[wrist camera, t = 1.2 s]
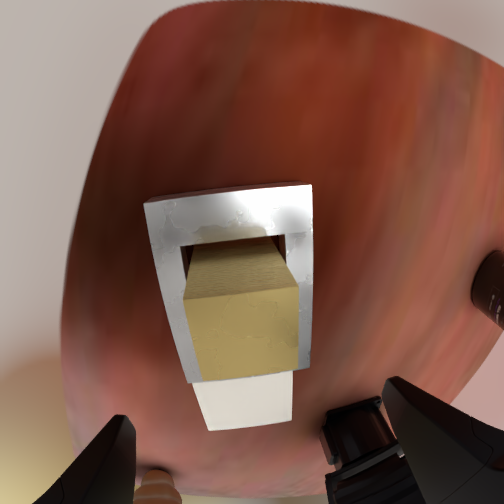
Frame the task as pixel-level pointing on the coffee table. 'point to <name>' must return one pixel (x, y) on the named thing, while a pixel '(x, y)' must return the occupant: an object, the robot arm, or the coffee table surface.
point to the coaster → (246, 401)
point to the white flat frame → (231, 228)
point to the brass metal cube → (242, 309)
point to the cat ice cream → (157, 489)
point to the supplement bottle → (491, 288)
